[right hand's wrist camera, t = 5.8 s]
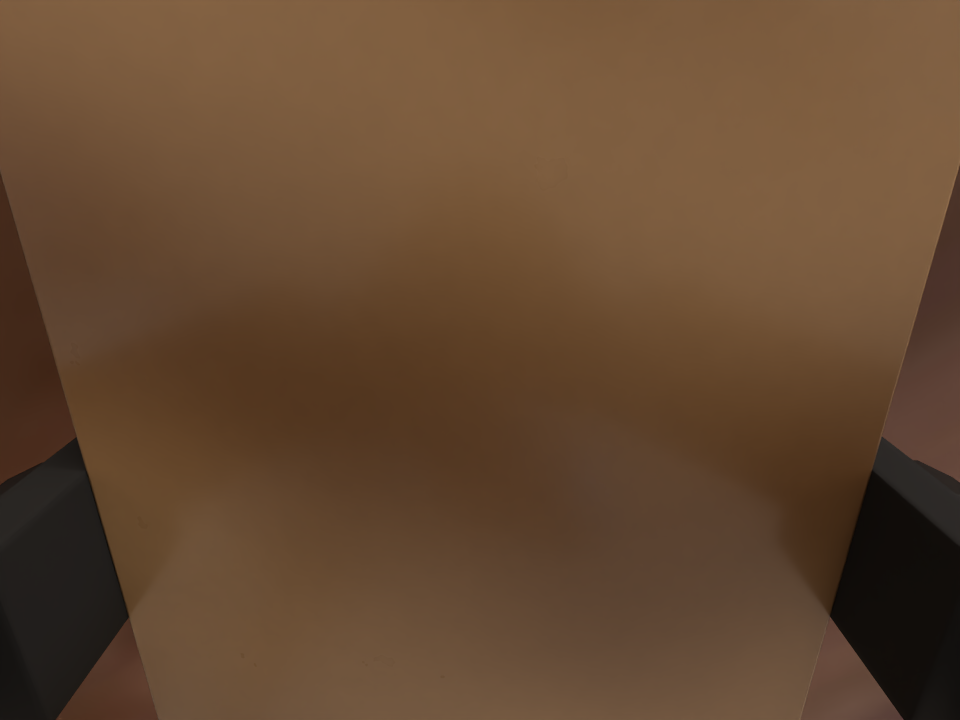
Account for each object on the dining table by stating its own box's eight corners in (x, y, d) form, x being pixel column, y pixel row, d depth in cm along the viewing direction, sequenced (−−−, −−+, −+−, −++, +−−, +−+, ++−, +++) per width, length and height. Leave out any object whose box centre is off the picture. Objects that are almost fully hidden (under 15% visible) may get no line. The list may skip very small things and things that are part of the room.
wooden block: (259, -18, 15) (-134, -281, 5) (698, -18, 15) (1090, -278, 5) (314, 443, 20) (161, 736, 10) (644, 442, 20) (797, 735, 10)
